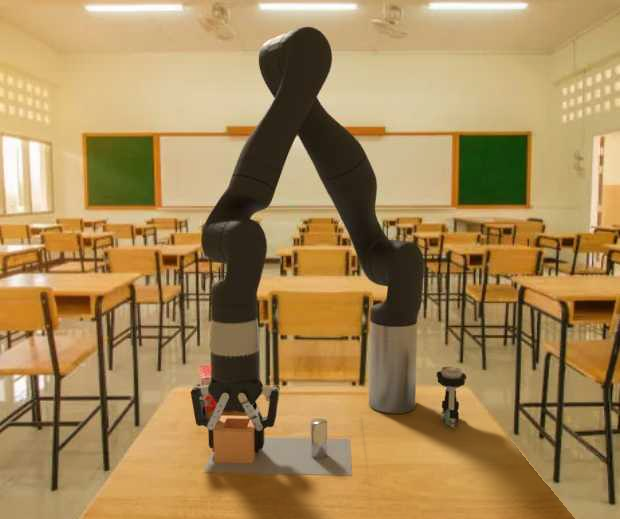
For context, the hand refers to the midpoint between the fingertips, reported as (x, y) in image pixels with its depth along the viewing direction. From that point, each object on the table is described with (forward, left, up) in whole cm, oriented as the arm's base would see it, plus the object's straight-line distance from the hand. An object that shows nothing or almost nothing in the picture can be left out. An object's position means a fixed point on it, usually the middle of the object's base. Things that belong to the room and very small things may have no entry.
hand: (236, 449), depth 89 cm
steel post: (0, +13, -2) cm, 13 cm away
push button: (-17, +37, -2) cm, 41 cm away
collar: (0, 0, -1) cm, 1 cm away
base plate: (0, +7, -2) cm, 7 cm away
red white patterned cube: (-22, -7, -2) cm, 23 cm away
